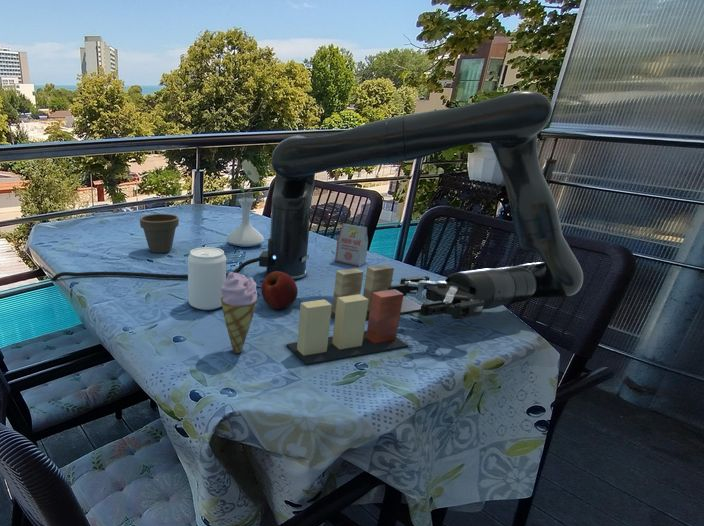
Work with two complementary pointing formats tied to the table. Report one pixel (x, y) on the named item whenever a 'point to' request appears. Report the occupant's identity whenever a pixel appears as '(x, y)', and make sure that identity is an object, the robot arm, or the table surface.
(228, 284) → the ice cream cone
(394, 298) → the orange rectangular block
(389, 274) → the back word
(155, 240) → the flower pot
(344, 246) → the white tea box
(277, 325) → the table surface
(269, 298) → the apple
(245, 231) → the flower in vase
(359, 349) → the front word
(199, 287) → the beverage can
